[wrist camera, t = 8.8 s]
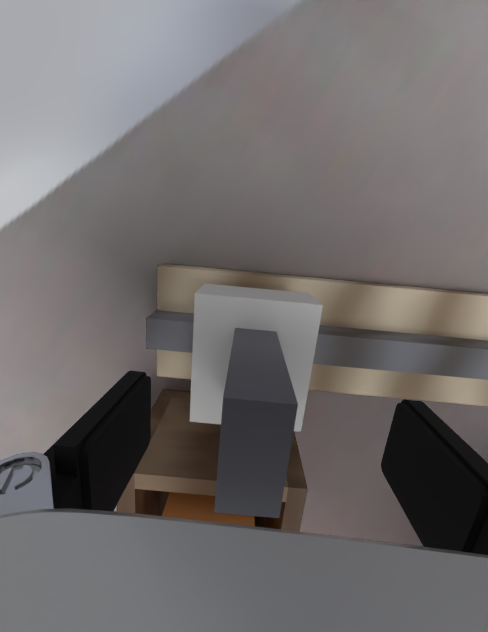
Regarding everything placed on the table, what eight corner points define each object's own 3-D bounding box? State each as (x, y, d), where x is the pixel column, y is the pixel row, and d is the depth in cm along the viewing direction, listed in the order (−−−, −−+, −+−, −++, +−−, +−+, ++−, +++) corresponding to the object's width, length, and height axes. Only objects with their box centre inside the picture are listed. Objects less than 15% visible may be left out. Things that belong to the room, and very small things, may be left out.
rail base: (530, 297, 19) (591, 309, 16) (492, 397, 21) (538, 426, 18) (164, 263, 19) (145, 268, 16) (163, 366, 21) (146, 390, 18)
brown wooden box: (286, 400, 22) (307, 489, 14) (272, 497, 24) (282, 616, 17) (163, 389, 22) (114, 471, 14) (162, 487, 24) (121, 602, 17)
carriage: (309, 293, 15) (385, 359, 7) (292, 399, 17) (335, 559, 9) (205, 283, 15) (147, 337, 7) (199, 391, 17) (149, 542, 9)
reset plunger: (253, 474, 17) (255, 590, 12) (246, 532, 19) (245, 660, 13) (177, 468, 17) (141, 580, 12) (175, 525, 19) (142, 652, 13)
